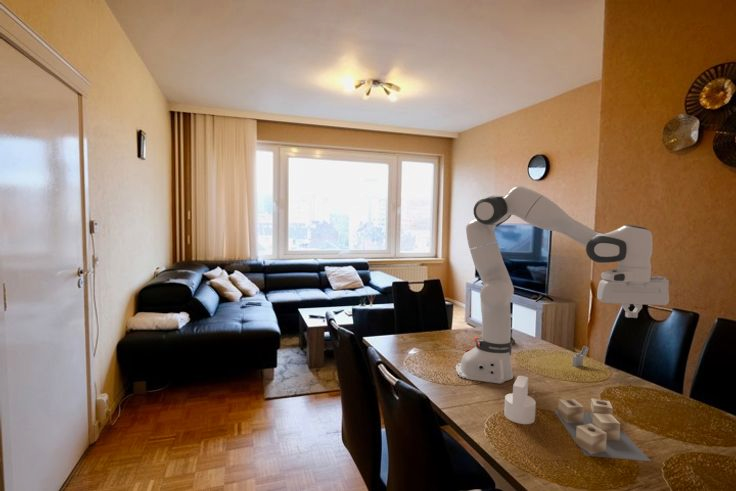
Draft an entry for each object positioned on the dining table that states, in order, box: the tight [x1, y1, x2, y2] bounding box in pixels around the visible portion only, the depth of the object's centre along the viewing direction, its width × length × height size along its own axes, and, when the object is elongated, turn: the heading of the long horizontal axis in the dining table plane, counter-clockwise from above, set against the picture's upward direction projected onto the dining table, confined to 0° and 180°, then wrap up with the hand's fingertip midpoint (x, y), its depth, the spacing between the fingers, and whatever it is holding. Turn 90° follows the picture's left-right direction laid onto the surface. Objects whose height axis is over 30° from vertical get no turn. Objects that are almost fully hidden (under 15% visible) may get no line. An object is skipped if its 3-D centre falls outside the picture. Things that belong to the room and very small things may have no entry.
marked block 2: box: [589, 397, 614, 420], centre depth 117 cm, size 5×5×5 cm
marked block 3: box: [575, 423, 607, 454], centre depth 102 cm, size 5×5×5 cm
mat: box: [553, 409, 652, 462], centre depth 110 cm, size 16×24×1 cm, turn 172°
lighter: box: [572, 345, 590, 368], centre depth 162 cm, size 7×2×8 cm, turn 109°
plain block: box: [592, 413, 621, 441], centre depth 108 cm, size 5×5×5 cm
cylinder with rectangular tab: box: [503, 375, 537, 425], centre depth 118 cm, size 9×9×12 cm
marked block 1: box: [557, 398, 585, 423], centre depth 117 cm, size 5×5×5 cm
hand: (631, 317), depth 123 cm, fingers closed
